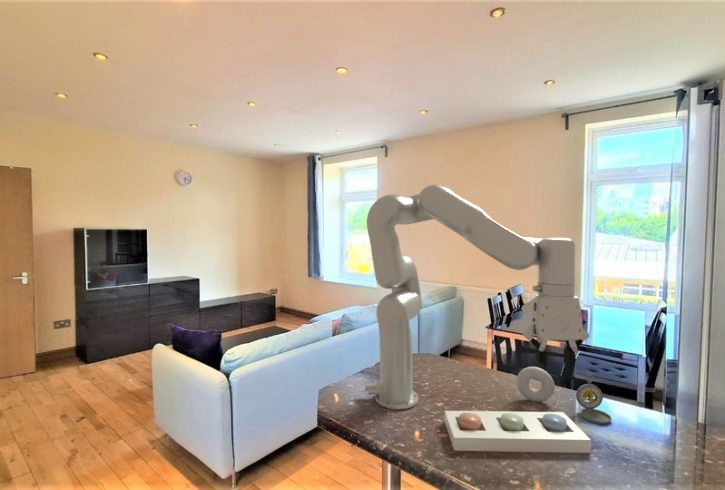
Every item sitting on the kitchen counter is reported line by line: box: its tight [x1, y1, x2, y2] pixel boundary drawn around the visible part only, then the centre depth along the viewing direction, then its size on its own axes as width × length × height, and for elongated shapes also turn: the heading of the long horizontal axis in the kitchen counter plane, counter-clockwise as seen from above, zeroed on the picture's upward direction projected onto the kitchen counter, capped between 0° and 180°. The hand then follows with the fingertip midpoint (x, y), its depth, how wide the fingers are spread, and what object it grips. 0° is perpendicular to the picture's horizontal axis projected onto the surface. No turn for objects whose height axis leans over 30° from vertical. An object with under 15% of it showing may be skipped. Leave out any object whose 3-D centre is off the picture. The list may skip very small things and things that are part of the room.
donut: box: [516, 366, 556, 403], centre depth 103 cm, size 10×4×10 cm, turn 64°
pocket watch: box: [575, 374, 612, 425], centre depth 95 cm, size 8×8×10 cm
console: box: [444, 410, 592, 454], centre depth 86 cm, size 30×12×3 cm, turn 87°
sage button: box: [501, 413, 523, 431], centre depth 86 cm, size 5×5×2 cm
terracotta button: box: [459, 413, 481, 431], centre depth 87 cm, size 5×5×2 cm
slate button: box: [543, 414, 567, 432], centre depth 86 cm, size 5×5×2 cm
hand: (555, 365), depth 85 cm, fingers open, 5 cm apart
